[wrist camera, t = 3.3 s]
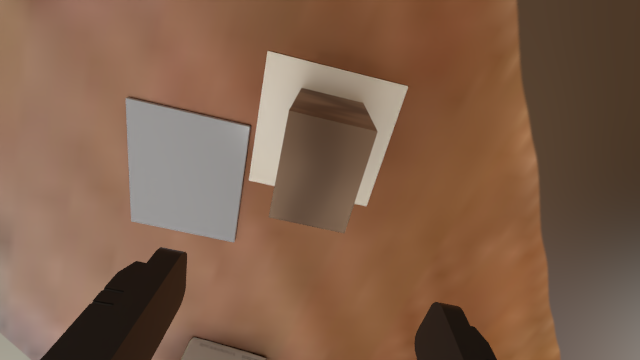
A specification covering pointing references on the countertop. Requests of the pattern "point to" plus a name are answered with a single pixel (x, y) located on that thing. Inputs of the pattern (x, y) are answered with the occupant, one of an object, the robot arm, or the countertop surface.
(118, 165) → the countertop surface
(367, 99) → the card
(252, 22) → the countertop surface
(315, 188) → the walnut block
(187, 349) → the tea box
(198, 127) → the slate pad
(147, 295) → the robot arm
